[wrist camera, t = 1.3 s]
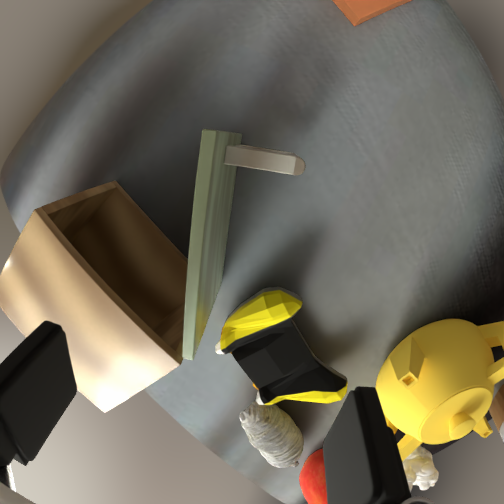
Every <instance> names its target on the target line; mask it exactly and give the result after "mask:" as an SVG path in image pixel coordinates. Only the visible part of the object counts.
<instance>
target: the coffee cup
mask: <svg viewBox="0 0 504 504" xmlns="http://www.w3.org/2000/svg"><path fill="white" fill-rule="evenodd" d="M489 411H490V414H491V416H492V418H493V420H494V423H495V425H496V427H497V429H498V431H499V434H500V435H501V437H502V440H503V442H504V378H503V379H502V380H500V381H499V382H497V383H496V384H494V394H493V399H492V403H491V405H490V407H489Z"/></svg>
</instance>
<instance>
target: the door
mask: <svg viewBox="0 0 504 504" xmlns="http://www.w3.org/2000/svg"><path fill="white" fill-rule="evenodd" d="M241 139H242V134H240V133H234V132H227V131H220V130H212V129H203V130H202V136H201V144H200V151H199V159H198V167H197V175H196V184H195V192H194V202H193V211H192V221H191V231H190V242H189V254H188V266H187V280H186V294H185V310H184V329H183V352H182V357H183V358H185V359H189V360H193V359H194V357H195V354H196V351H197V349H198V346H199V343H200V340H201V338H202V335H203V332H204V329H205V327H206V324H207V321H208V319H209V316H210V313H211V310H212V308H213V305H214V302H215V300H216V297H217V294H218V291H219V289H220V286H221V283H222V276H223V268H224V260H225V252H226V245H227V237H228V230H229V222H230V215H231V208H232V200H233V193H234V186H235V179H236V172H237V166H241V167H248V168H254V169H261V170H267V171H273V172H279V173H285V174H290V175H300V174H302V173H303V172H304V170H305V162H304V160H303V159H302V158H300V157H299V156H298V155H296V154H295V153H291V152H285V151H279V150H273V149H267V148H261V147H254V146H248V145H241Z"/></svg>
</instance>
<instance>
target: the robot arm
mask: <svg viewBox="0 0 504 504" xmlns="http://www.w3.org/2000/svg"><path fill="white" fill-rule="evenodd" d="M76 392H77V384H76V380H75V376H74V372H73V368H72V363H71V358H70V354H69V349H68V343H67V338H66V333H65V331H63V329H62V327H61V325H59V324H56V323H53V322H50V321H48V320H45V321H44V322H42V323H41V324H40V325H39V326H38V327H37V328H36V329H35V330H34V331H33V332H32V333H31V334H30V335H29V336H28V337H27V338H26V339H25V340H24V341H23V342H22V343H21V344H20V345H19V346H18V347H17V348H16V349H15V350H14V351H13V352H12V353H11V354H10V355H9V356H8V357H7V358H6V359H5V360H4V361H3V362H2V363H1V364H0V504H35V503H33V502H32V501H30V500H28V499H26V498H25V497H23V496H21V495H20V494H18V493H17V492H16V488H15V484H14V479H13V475H12V469H11V464H10V463H11V461H12V459H13V458H14V459H15V460H16V461H18V462H20V463H21V464H23V465H25V466H26V465H27V463H28V462H29V461H32V460H34V458H35V457H36V455H37V454H38V452H39V450H40V449H41V447H42V446H43V444H44V442H45V441H46V439H47V438H48V436H49V435H50V433H51V431H52V430H53V428H54V427H55V425H56V424H57V422H58V421H59V419H60V417H61V416H62V415H63V413H64V411H65V410H66V408H67V407H68V405H69V404H70V402H71V401H72V399H73V398H74V396H75V395H76ZM323 456H324V467H325V479H326V492H327V504H435V503H434V502H433V501H431V500H430V499H428V498H425V497H417V496H416V497H411V493H410V489H409V485H408V482H407V478H406V474H405V470H404V467H403V463H402V459H401V456H400V452H399V449H398V445H397V442H396V439H395V435H394V432H393V430H392V429H391V428H390V427H388V426H387V423H386V419H385V416H384V413H383V409H382V406H381V403H380V400H379V396H378V393H377V390H376V389H375V388H374V387H356V389H355V390H354V391H350V392H349V394H348V396H347V398H346V400H345V402H344V404H343V406H342V408H341V410H340V412H339V414H338V416H337V417H336V419H335V421H334V423H333V425H332V427H331V429H330V431H329V432H328V434H327V436H326V438H325V440H324V443H323Z"/></svg>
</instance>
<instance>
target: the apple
mask: <svg viewBox="0 0 504 504" xmlns="http://www.w3.org/2000/svg"><path fill="white" fill-rule="evenodd" d="M299 481H300V486H301V489H302V492H303V495H304V496H305V498H306V500H307V502H308V503H309V504H327V492H326V479H325V467H324V456H323V449H319V450H317V451H315V452H314V453H313V454H311V455H310V456H309V457H308V458H307V460H306V461H305V463H304V465H303V468H302V470H301V473H300V476H299Z"/></svg>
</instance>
